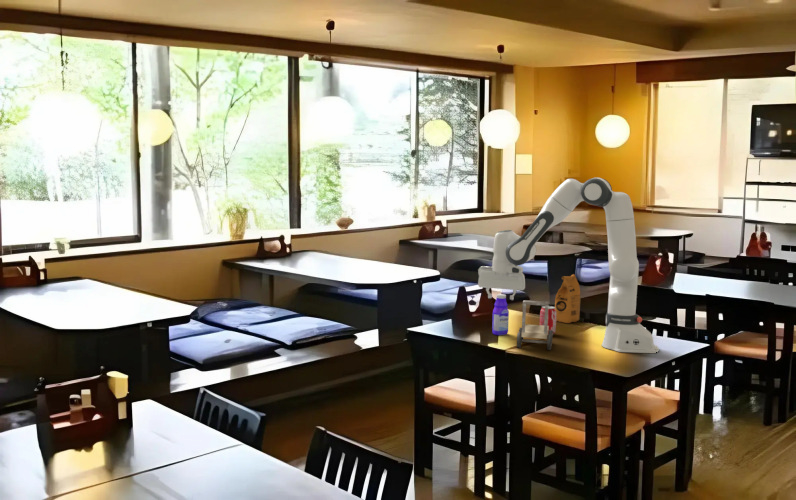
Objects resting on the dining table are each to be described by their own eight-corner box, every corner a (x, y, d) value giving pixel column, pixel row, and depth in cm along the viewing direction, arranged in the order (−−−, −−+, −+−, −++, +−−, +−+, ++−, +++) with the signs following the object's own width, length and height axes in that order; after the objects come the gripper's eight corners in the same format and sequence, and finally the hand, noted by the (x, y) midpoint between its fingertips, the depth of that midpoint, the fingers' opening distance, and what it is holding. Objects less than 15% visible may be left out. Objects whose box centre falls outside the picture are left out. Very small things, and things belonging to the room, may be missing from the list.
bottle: (498, 336, 339) (500, 296, 337) (489, 334, 344) (490, 294, 342) (510, 334, 344) (512, 295, 342) (500, 332, 348) (502, 293, 346)
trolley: (552, 342, 330) (554, 296, 328) (550, 351, 314) (552, 302, 312) (519, 340, 333) (521, 294, 331) (516, 348, 317) (518, 300, 315)
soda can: (554, 332, 350) (555, 305, 349) (556, 335, 343) (557, 308, 342) (538, 331, 351) (539, 305, 349) (539, 335, 344) (541, 308, 342)
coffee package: (550, 320, 376) (552, 275, 374) (564, 317, 385) (566, 273, 383) (568, 324, 370) (570, 277, 367) (582, 320, 379) (584, 275, 376)
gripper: (477, 266, 340) (475, 298, 341) (525, 270, 335) (523, 301, 337) (479, 264, 346) (477, 295, 347) (526, 268, 341) (524, 299, 343)
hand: (500, 298), depth 342 cm, fingers open, 8 cm apart
